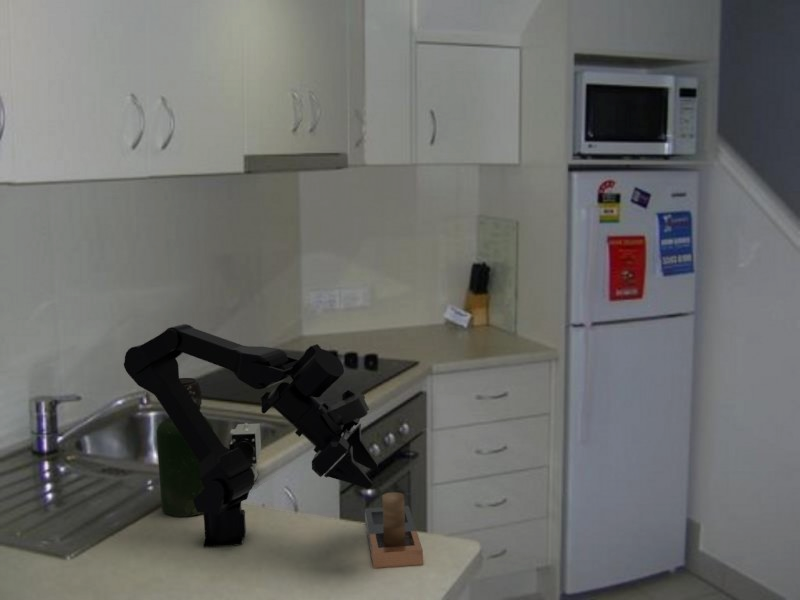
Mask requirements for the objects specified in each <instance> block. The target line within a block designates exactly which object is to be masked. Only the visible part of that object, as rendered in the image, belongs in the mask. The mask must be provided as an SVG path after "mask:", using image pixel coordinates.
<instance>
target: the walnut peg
mask: <svg viewBox="0 0 800 600" xmlns="http://www.w3.org/2000/svg"><path fill="white" fill-rule="evenodd" d="M381 497H382V499H381V500H382V507H383V534H384V547H383V548H385V547H399V546H406V545H405V509H404V506H405V494H404V493H401V492H393V491H392V492H387V493H384V494H383V495H381Z"/></svg>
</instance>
